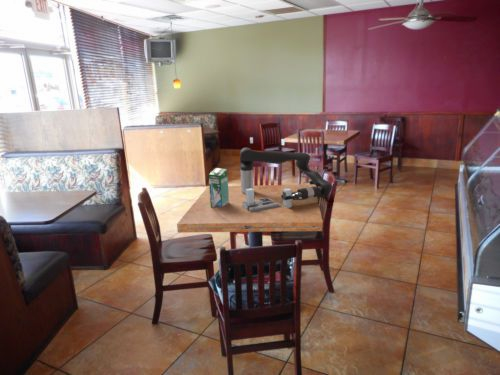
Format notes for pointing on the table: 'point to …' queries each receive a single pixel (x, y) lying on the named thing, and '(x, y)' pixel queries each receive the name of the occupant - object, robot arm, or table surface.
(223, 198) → the milk carton
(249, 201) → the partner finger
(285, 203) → the loose finger
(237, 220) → the table surface
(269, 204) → the rail board
